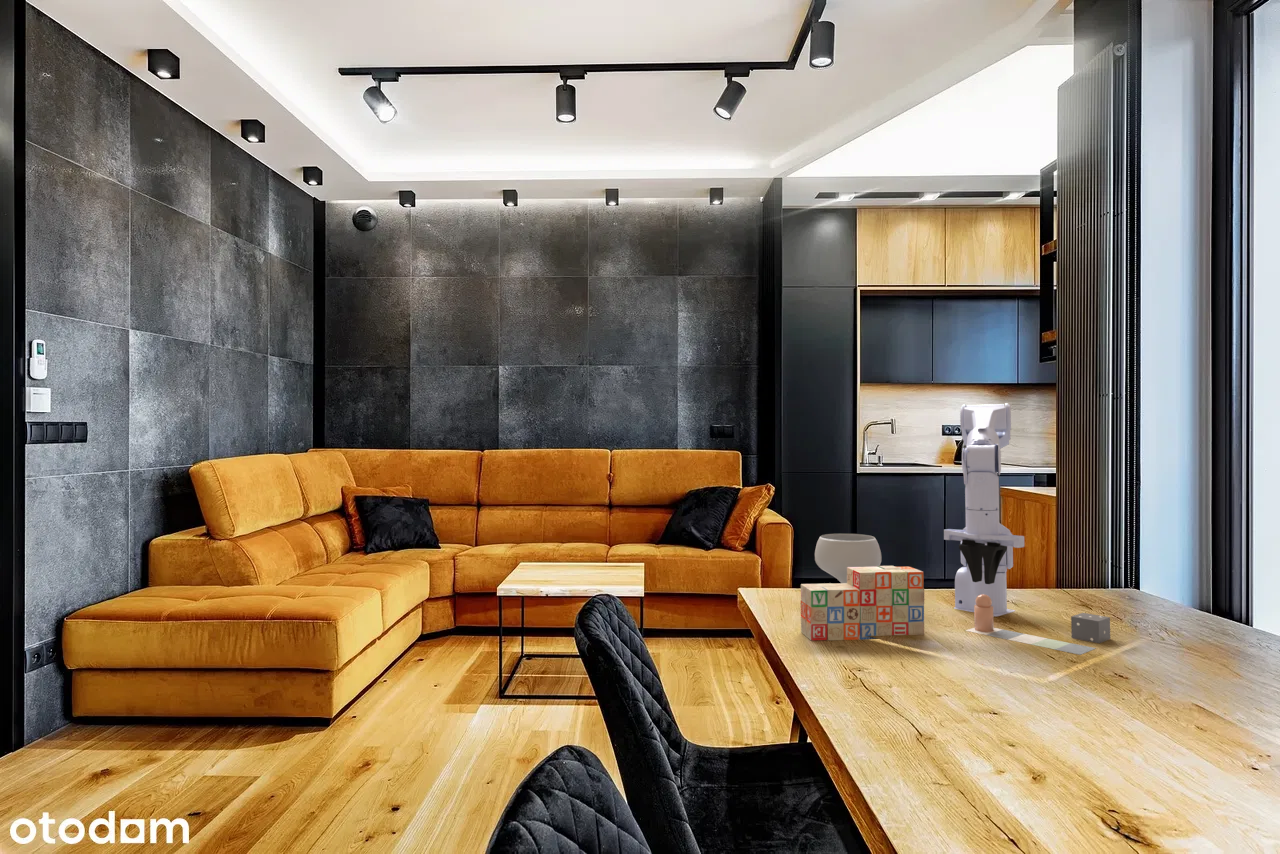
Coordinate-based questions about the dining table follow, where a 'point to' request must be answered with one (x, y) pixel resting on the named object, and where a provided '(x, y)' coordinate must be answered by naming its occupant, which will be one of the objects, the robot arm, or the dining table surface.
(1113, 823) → the dining table surface
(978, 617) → the pawn
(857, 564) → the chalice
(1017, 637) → the board
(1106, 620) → the die
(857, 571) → the stack of blocks
